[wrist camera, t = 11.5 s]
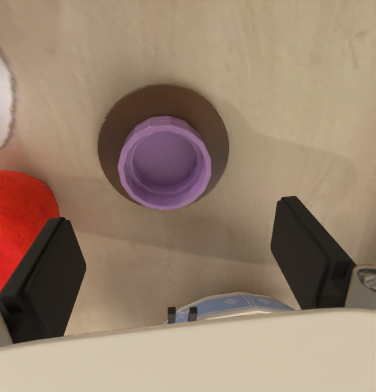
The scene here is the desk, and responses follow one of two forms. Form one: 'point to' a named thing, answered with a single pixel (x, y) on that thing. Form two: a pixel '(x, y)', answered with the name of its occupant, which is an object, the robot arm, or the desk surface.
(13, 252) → the apple
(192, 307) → the ramen bowl
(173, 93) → the coaster
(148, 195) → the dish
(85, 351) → the robot arm
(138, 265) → the desk surface
